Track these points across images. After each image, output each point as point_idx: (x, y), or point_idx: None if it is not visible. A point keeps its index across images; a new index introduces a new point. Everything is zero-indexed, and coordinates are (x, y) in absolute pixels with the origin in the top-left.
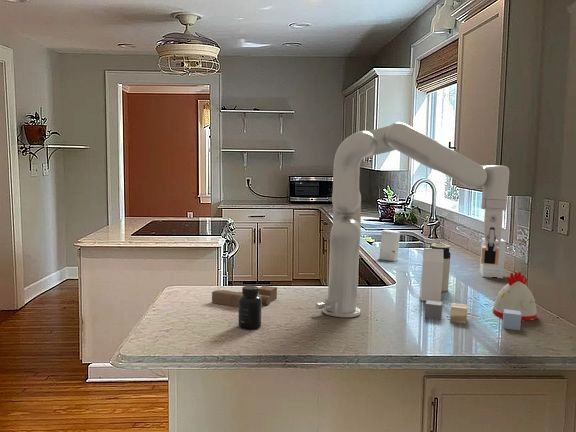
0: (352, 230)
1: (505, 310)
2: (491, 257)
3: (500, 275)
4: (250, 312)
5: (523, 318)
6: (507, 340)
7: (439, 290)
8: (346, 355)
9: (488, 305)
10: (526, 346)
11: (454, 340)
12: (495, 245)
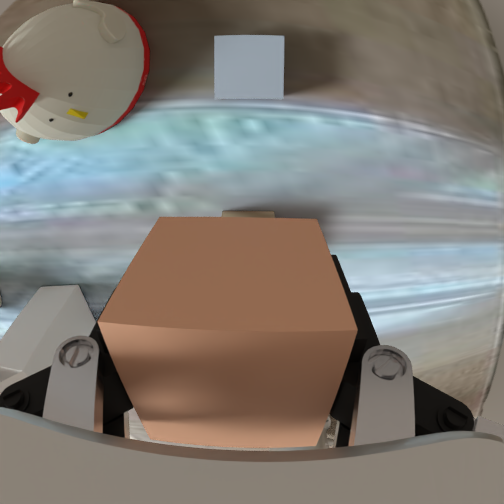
0: None
1: (236, 92)
2: (365, 319)
3: None
4: None
5: (142, 33)
6: (410, 103)
7: (66, 309)
8: (494, 363)
9: (23, 159)
10: (442, 64)
11: (440, 240)
12: (413, 410)
